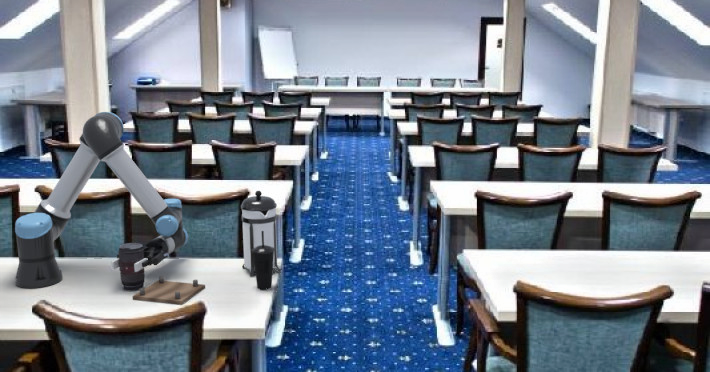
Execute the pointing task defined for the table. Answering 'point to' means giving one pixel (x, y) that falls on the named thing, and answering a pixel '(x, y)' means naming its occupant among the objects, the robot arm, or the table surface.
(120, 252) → the camera lens
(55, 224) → the robot arm
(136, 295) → the board
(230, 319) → the table surface
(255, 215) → the coffee press
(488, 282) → the table surface
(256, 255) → the drinking cup
